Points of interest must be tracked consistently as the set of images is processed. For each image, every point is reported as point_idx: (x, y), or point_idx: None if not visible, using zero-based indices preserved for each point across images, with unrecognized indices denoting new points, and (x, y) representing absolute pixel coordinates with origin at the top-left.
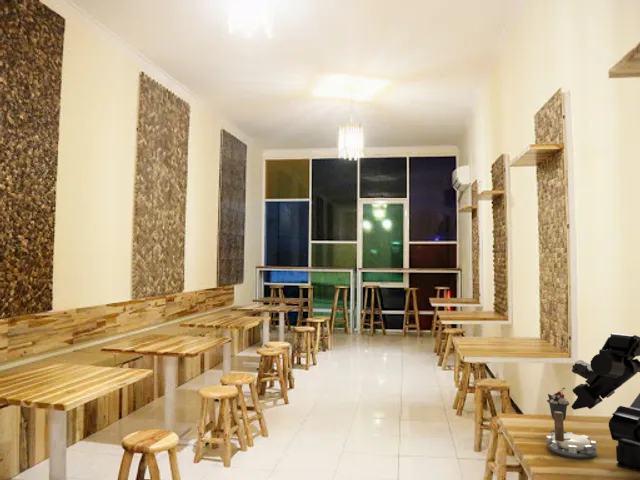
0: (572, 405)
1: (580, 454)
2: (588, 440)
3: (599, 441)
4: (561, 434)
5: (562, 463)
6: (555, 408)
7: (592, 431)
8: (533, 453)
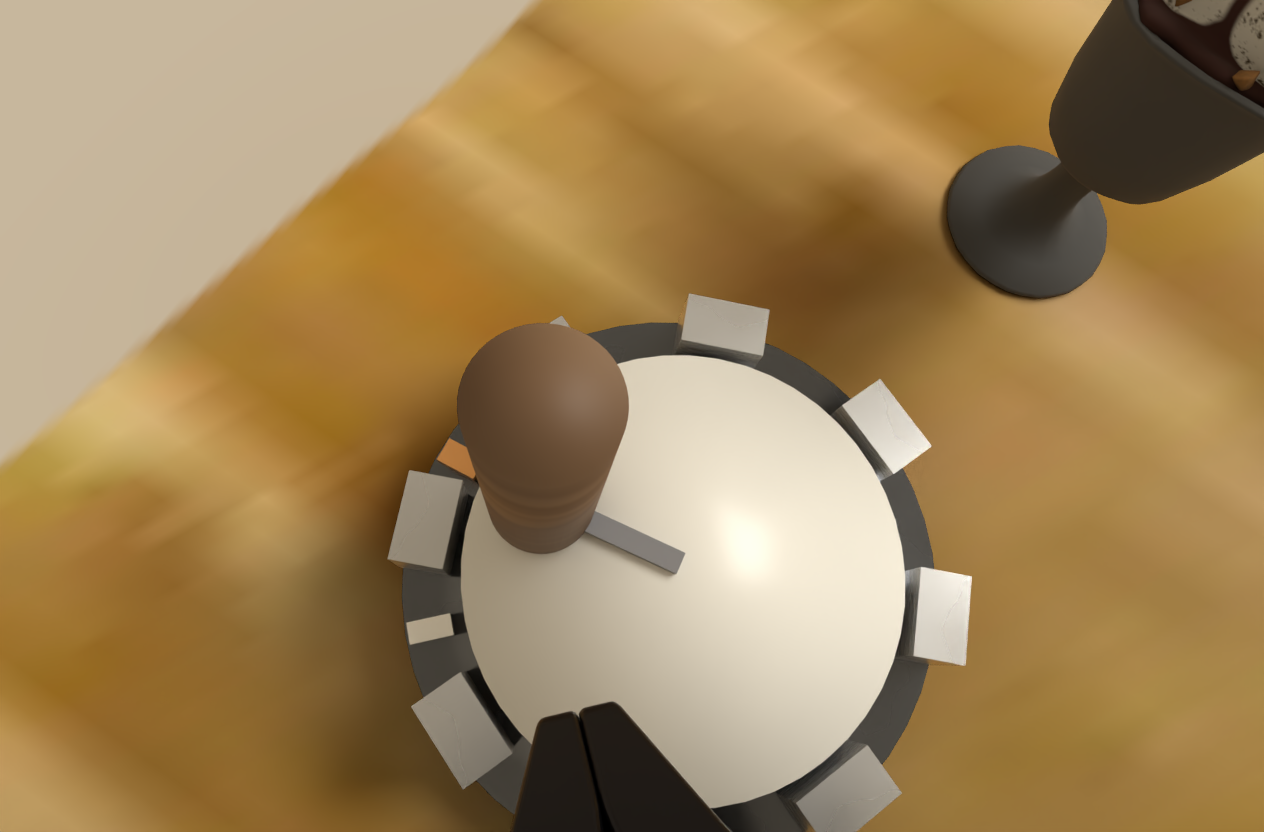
0: (528, 772)
1: (505, 806)
2: (840, 730)
3: (1188, 606)
4: (511, 534)
5: (214, 748)
6: (1127, 53)
7: None
8: (241, 389)
